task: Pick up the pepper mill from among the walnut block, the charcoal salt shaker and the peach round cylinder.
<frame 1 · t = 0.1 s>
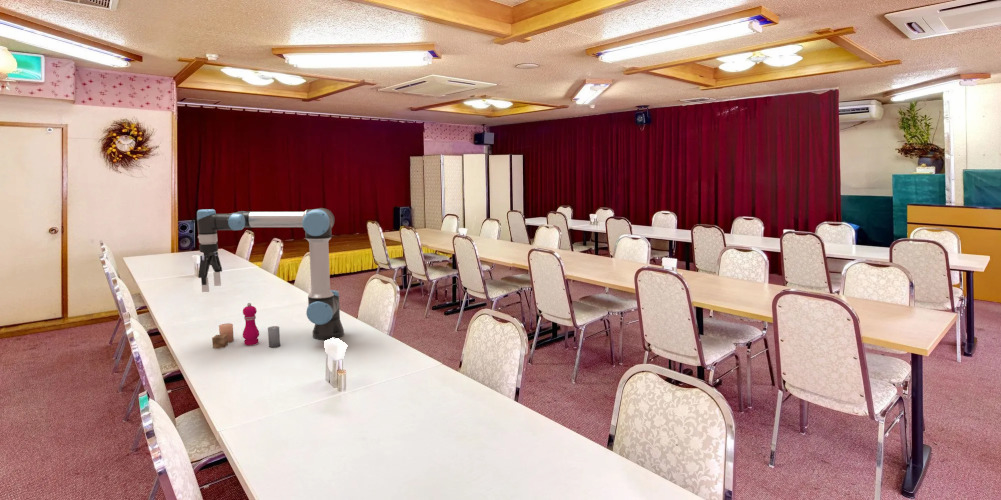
hand: (211, 288, 249), 28 cm above the table, tool pointing down, fingers open, 13 cm apart
pepper mill: (251, 343, 258), on the table
peach round cylinder: (226, 341, 261), on the table
walnut block: (220, 346, 253), on the table
charcoal salt shaker: (274, 346, 254), on the table
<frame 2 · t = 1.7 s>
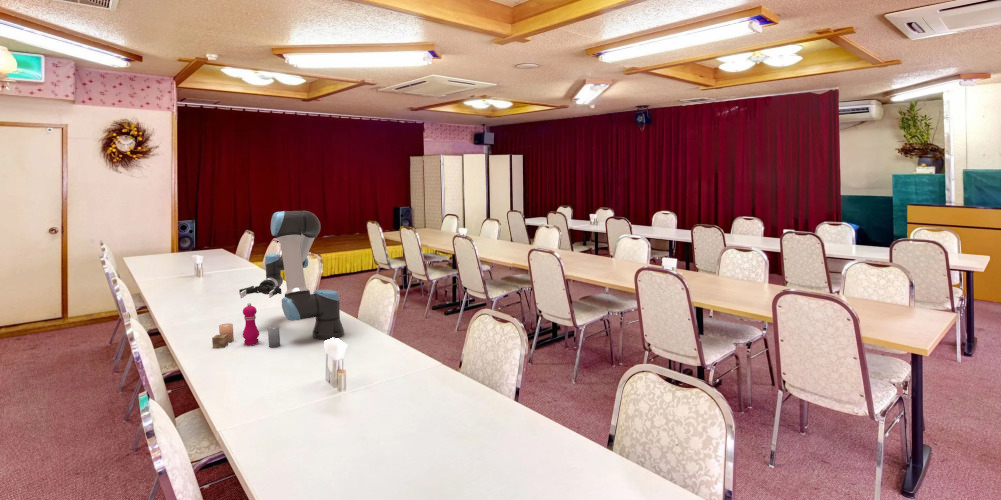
hand: (255, 295, 264), 21 cm above the table, tool horizontal, fingers open, 13 cm apart
nothing on the table moved.
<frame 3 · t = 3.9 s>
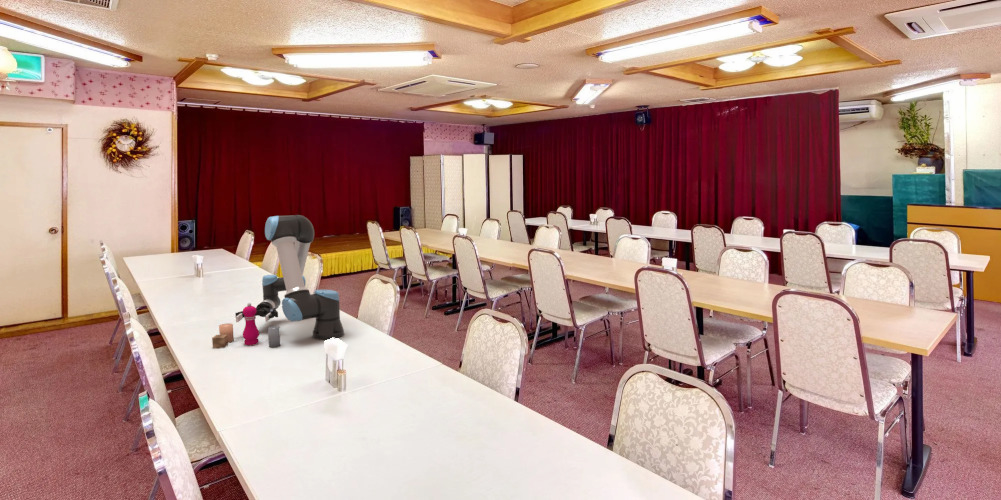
hand: (251, 319, 260), 11 cm above the table, tool horizontal, fingers open, 13 cm apart
nothing on the table moved.
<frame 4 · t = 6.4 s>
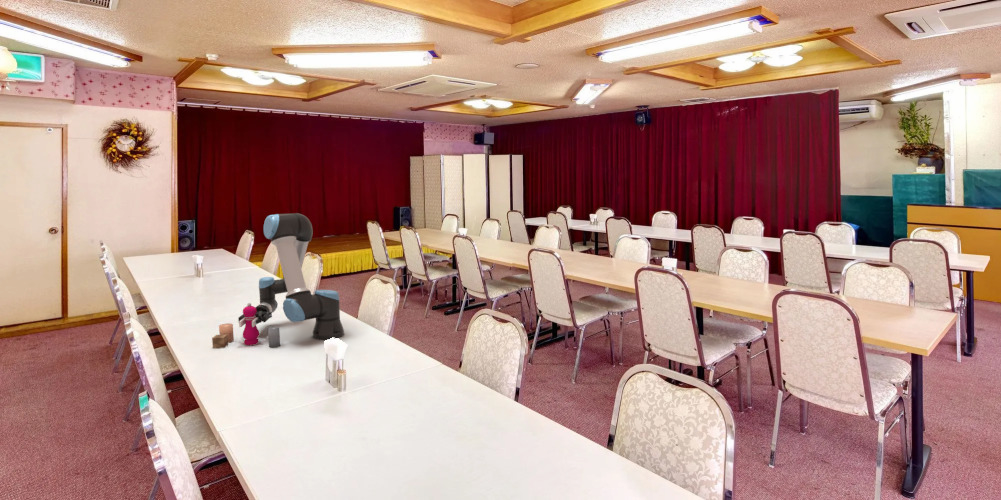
hand: (246, 324, 251), 11 cm above the table, tool horizontal, fingers closed on pepper mill, 5 cm apart
pepper mill: (251, 343, 258), on the table, touching gripper
everything else where it was.
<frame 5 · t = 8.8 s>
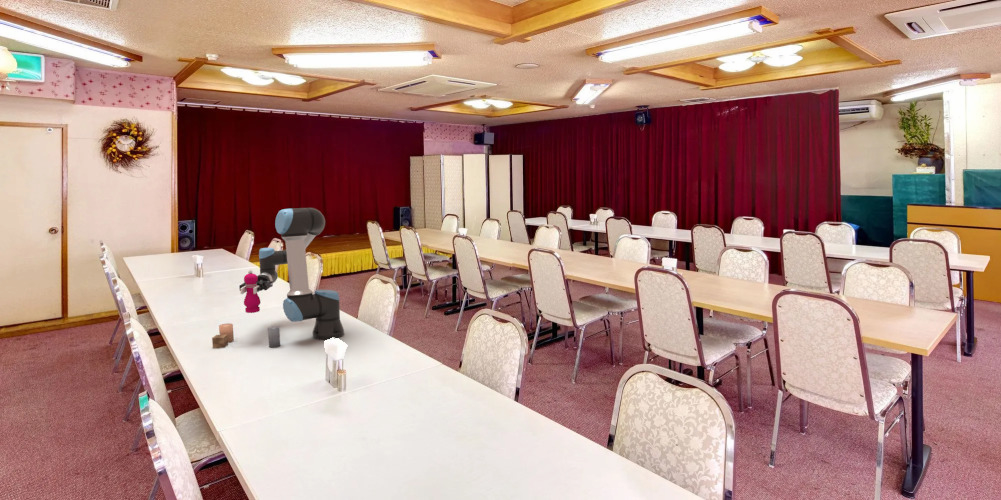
hand: (247, 291, 251), 26 cm above the table, tool horizontal, fingers closed on pepper mill, 5 cm apart
pepper mill: (252, 311, 257), point 15 cm above the table, touching gripper
everything else where it was.
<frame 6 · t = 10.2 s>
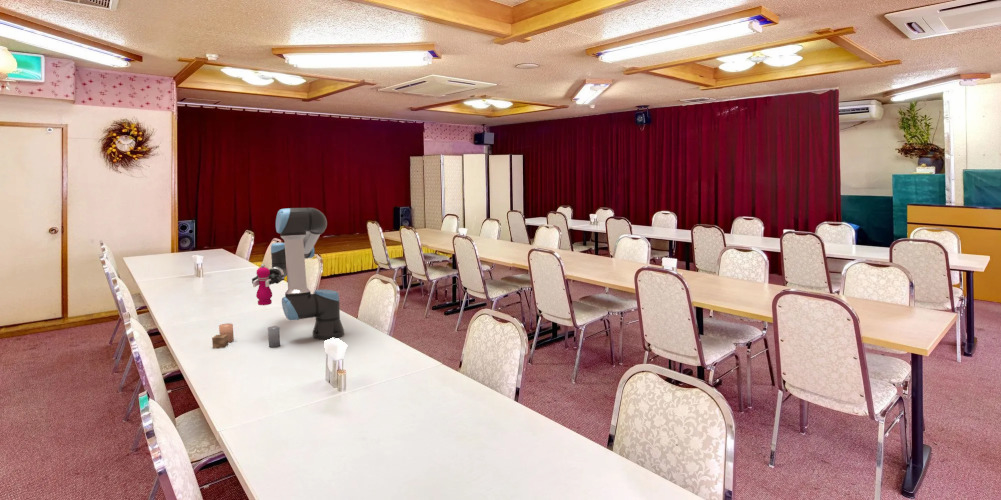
hand: (260, 284, 259), 28 cm above the table, tool horizontal, fingers closed on pepper mill, 5 cm apart
pepper mill: (264, 304, 266), point 17 cm above the table, touching gripper
everything else where it was.
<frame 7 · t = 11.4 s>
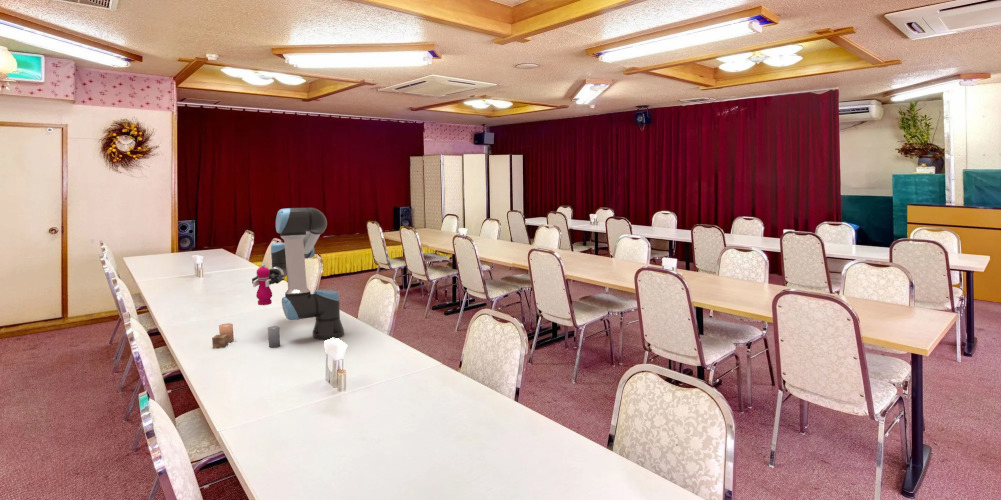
hand: (260, 284, 259), 28 cm above the table, tool horizontal, fingers closed on pepper mill, 5 cm apart
pepper mill: (264, 304, 266), point 17 cm above the table, touching gripper
everything else where it was.
at the end: the gripper is holding pepper mill; pepper mill point 16.7 cm above the table; walnut block moved 0.1 cm from its start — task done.
